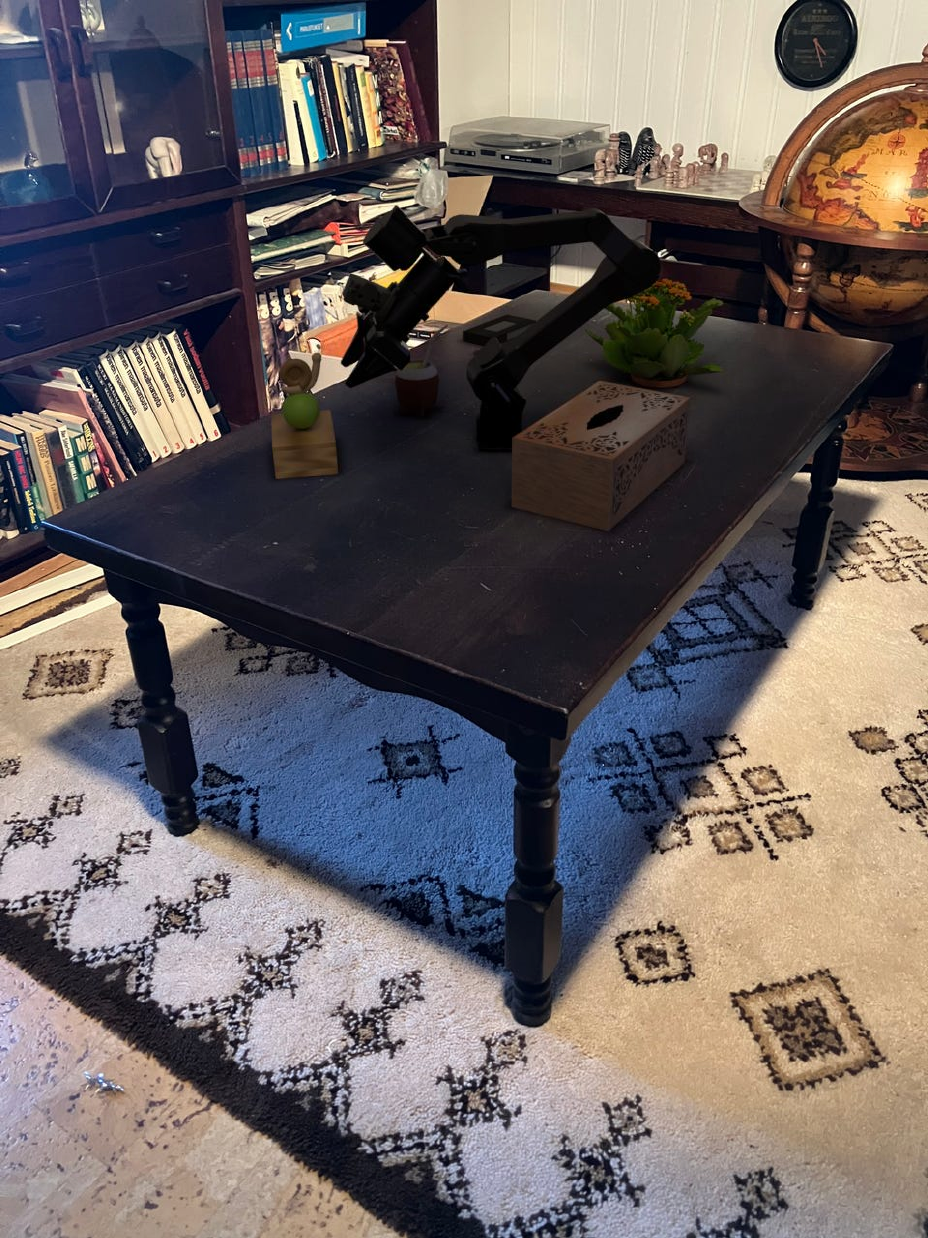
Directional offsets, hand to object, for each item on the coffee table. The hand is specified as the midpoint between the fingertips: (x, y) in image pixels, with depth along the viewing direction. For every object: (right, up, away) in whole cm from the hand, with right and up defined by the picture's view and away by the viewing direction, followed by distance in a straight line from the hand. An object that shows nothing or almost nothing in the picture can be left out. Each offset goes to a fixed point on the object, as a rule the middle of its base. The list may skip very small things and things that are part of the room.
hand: (345, 375), depth 152 cm
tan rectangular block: (-7, -11, +6) cm, 14 cm away
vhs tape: (+24, +21, +57) cm, 66 cm away
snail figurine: (-6, -7, +3) cm, 10 cm away
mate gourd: (+10, -1, +22) cm, 24 cm away
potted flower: (+51, +6, +33) cm, 61 cm away
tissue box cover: (+37, -16, -3) cm, 40 cm away
